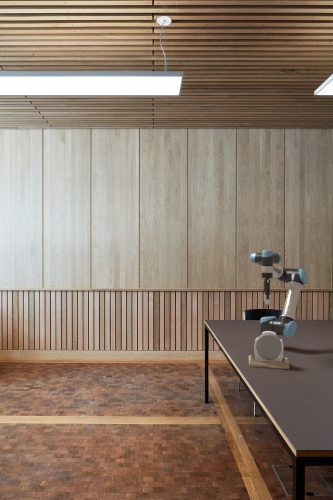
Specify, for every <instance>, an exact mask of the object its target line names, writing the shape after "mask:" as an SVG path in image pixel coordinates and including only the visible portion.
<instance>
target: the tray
mask: <svg viewBox="0 0 333 500" xmlns="http://www.w3.org/2000/svg"><path fill="white" fill-rule="evenodd" d="M248 365H249V367H250V368H251V367H255V368H269V369H270V368H271V369H285V370H286V369H287V370H290V361H289V359H288V358H287V357H286V356H285V357H284V356H283V358H282V362H280V361H263V360H255V355H251V354H249V355H248Z"/></svg>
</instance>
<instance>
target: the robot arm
mask: <svg viewBox="0 0 333 500" xmlns="http://www.w3.org/2000/svg"><path fill="white" fill-rule="evenodd" d="M249 261H250V263H252V264H257V265H259V266H260V269H261V278H262V279H263V280H264V281H263V302H264V304H265V305H270V304H271V303H270V302H271V301H270V300H271V297H270V296H271V280H270V279H273V278H274V279H276V280H278V281H279V282H283V283H286V284H287V285H288V289H287V292H286V293H287V294H286V297H285V301H284V305H283V307H282V312H281V315H279V317H278V318H277V317H276V316H274V315H273V316H263V317H261V318H260V321H259V336H260V335H262V332H265V331H272V332H274V333H276V335H277V336H281V337H290V338H291V337H294V335H296V332H297V326H298V325H297V324H298V323H297V322H296V319H295V315H296V314H295V313H296V309H297V304H298V300H299V297H300V292H301V289H303V288H304V286H305V285H306V284H308V282H309V275H308V272H307V270H306V269H304V268H290V267H289V268H288V267H282V266H281V265H278V264H280V263H281V262H282V261H283V257H282V254H280V253H278V252H274V251H273V250H271V249H264V250H262V252H252V253H250V256H249Z"/></svg>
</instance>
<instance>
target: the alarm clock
mask: <svg viewBox="0 0 333 500" xmlns="http://www.w3.org/2000/svg"><path fill="white" fill-rule="evenodd" d="M253 348H254V349H253V351H254V352H253V353H254V356H255V360H263V361H280V362H282V358H283V357H284V341H283V339H282V338H280V337H279V335H276V333H274V332H272V331H265V332H262V335H260V334H259V336H257V337H256V338H255V340H254V346H253Z"/></svg>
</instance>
